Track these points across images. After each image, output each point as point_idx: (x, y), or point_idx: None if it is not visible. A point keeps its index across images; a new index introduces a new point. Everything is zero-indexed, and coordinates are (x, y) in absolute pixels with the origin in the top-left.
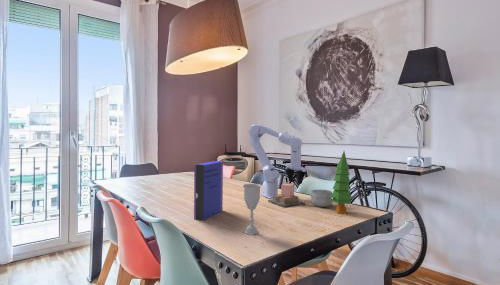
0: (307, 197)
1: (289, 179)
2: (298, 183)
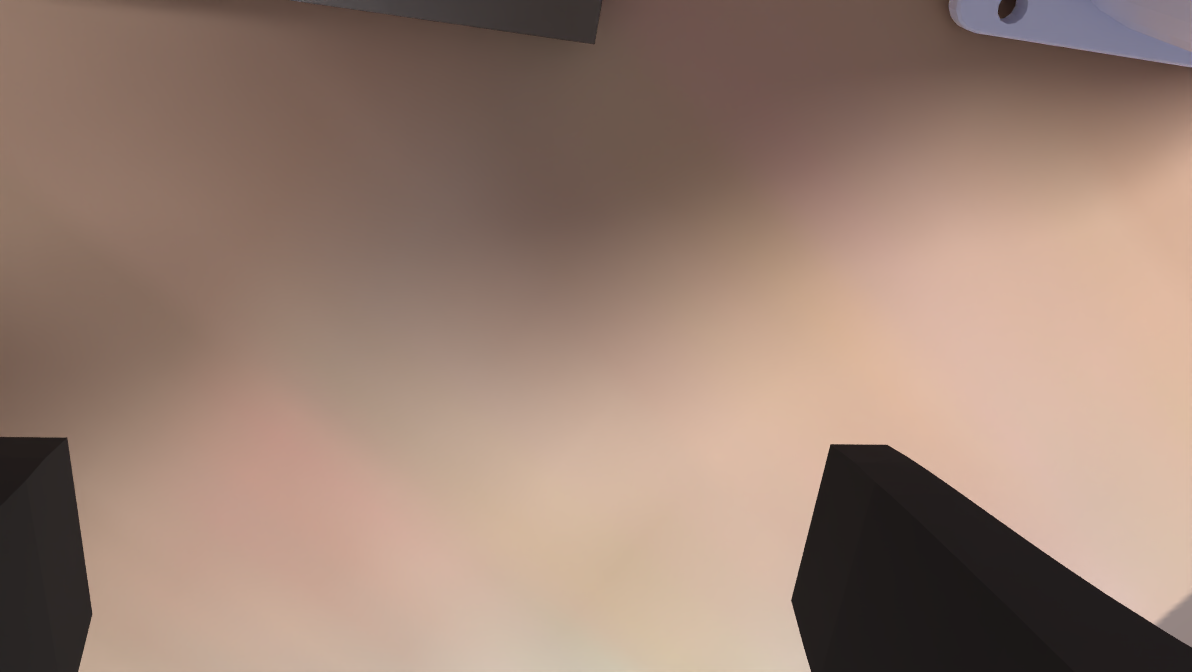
0: (416, 608)
1: (905, 516)
2: (26, 449)
